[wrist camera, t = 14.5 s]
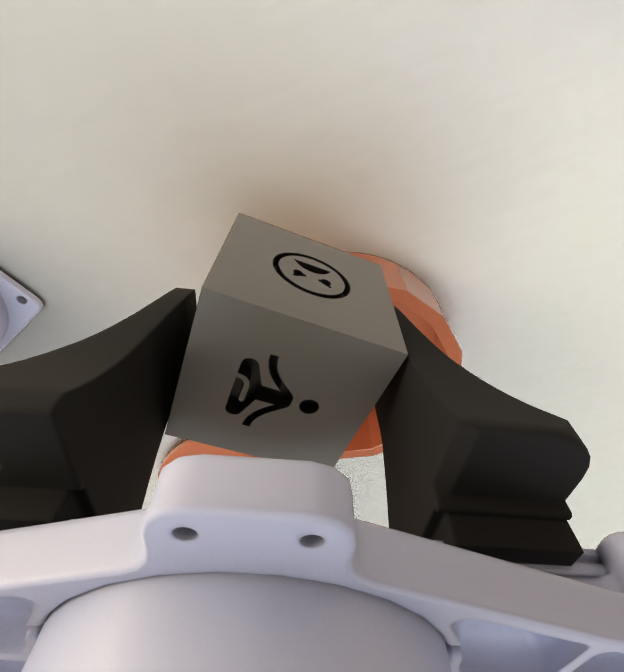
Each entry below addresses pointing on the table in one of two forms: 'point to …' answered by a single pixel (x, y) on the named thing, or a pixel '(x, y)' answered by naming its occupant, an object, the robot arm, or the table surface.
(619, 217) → the table surface
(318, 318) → the dice cube
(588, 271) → the table surface
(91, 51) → the table surface
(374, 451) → the basin
